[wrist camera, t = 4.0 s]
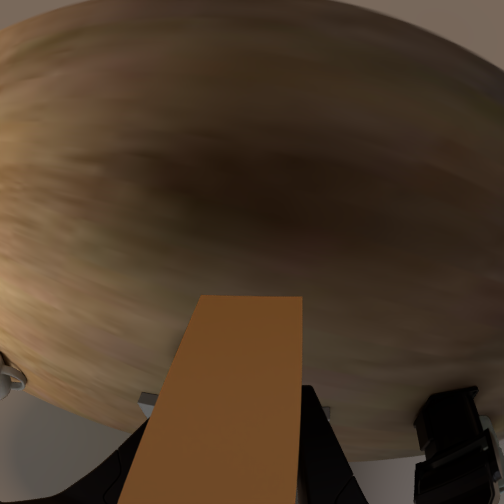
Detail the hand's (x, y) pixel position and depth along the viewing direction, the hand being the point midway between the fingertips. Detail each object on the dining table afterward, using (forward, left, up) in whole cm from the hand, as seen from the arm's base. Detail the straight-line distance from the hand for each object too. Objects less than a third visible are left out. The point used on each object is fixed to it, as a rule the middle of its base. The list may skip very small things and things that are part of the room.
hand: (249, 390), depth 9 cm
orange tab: (0, 0, -2) cm, 2 cm away
